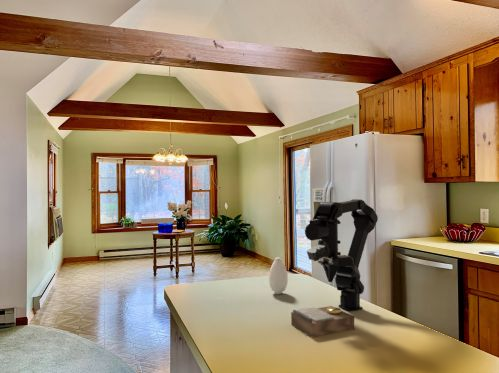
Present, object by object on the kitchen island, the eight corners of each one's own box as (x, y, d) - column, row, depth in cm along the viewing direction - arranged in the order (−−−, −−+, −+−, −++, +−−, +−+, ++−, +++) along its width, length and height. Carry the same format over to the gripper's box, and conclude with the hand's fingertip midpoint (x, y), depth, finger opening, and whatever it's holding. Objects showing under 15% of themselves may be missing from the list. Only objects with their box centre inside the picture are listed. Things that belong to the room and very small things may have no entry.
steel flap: (314, 308, 128) (314, 307, 128) (334, 318, 117) (334, 316, 117) (296, 312, 125) (296, 310, 125) (315, 322, 115) (315, 320, 115)
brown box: (331, 317, 131) (331, 303, 131) (354, 328, 120) (354, 313, 120) (291, 324, 124) (291, 309, 124) (311, 337, 113) (311, 320, 114)
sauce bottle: (266, 292, 164) (265, 251, 164) (281, 290, 167) (281, 249, 168) (274, 297, 157) (274, 253, 157) (291, 294, 160) (290, 252, 160)
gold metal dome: (335, 320, 127) (335, 306, 127) (343, 325, 123) (343, 310, 123) (323, 322, 125) (323, 308, 125) (332, 327, 121) (332, 312, 121)
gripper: (295, 236, 138) (296, 278, 138) (326, 242, 121) (327, 291, 121) (321, 234, 143) (321, 275, 143) (354, 240, 126) (354, 286, 126)
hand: (330, 281), depth 133 cm, fingers closed
